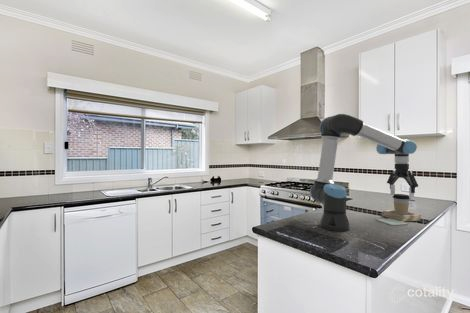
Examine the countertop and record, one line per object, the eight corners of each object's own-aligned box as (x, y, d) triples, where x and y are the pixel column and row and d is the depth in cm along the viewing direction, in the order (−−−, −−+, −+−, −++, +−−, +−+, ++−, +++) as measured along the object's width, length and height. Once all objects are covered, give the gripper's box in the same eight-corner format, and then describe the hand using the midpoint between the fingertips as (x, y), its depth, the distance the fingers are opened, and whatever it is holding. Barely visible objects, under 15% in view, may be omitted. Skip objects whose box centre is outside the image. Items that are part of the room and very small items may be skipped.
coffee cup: (404, 216, 156) (404, 193, 156) (413, 220, 147) (414, 196, 146) (389, 216, 157) (389, 193, 157) (397, 220, 147) (397, 196, 147)
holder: (401, 221, 143) (401, 216, 143) (382, 215, 157) (382, 210, 157) (420, 220, 146) (420, 214, 146) (400, 214, 160) (400, 209, 160)
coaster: (392, 225, 136) (392, 224, 136) (376, 220, 146) (376, 219, 146) (407, 224, 138) (407, 223, 138) (391, 219, 149) (391, 218, 149)
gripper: (425, 163, 140) (425, 199, 140) (390, 162, 164) (390, 192, 165) (415, 164, 139) (415, 200, 139) (380, 162, 163) (381, 193, 163)
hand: (401, 196), depth 152 cm, fingers open, 13 cm apart
